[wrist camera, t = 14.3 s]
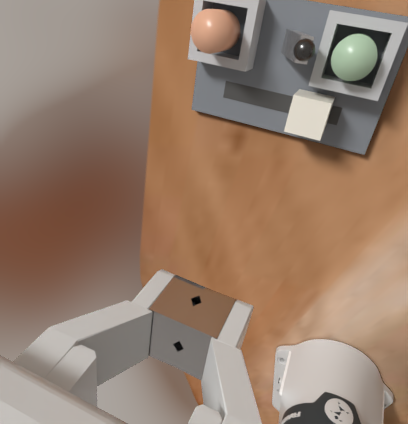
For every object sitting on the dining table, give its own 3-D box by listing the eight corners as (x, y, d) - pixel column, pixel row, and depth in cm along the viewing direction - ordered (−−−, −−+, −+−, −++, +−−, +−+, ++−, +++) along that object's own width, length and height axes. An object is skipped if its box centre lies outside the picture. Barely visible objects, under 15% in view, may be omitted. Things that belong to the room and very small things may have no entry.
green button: (368, 79, 37) (367, 85, 34) (329, 71, 38) (325, 76, 35) (383, 37, 35) (384, 39, 32) (342, 29, 36) (339, 30, 33)
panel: (364, 152, 42) (363, 163, 39) (194, 107, 48) (181, 114, 45) (417, 18, 35) (422, 18, 32) (210, -15, 41) (196, -18, 37)
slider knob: (323, 131, 42) (319, 140, 39) (290, 123, 43) (283, 131, 40) (335, 97, 40) (332, 103, 37) (299, 89, 41) (293, 94, 38)
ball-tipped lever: (294, 55, 40) (314, 67, 34) (277, 52, 39) (293, 64, 33) (300, 31, 38) (321, 39, 32) (282, 28, 38) (300, 35, 32)
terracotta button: (236, 54, 40) (224, 57, 36) (203, 47, 41) (188, 49, 37) (243, 13, 38) (231, 12, 34) (208, 6, 39) (193, 5, 35)
